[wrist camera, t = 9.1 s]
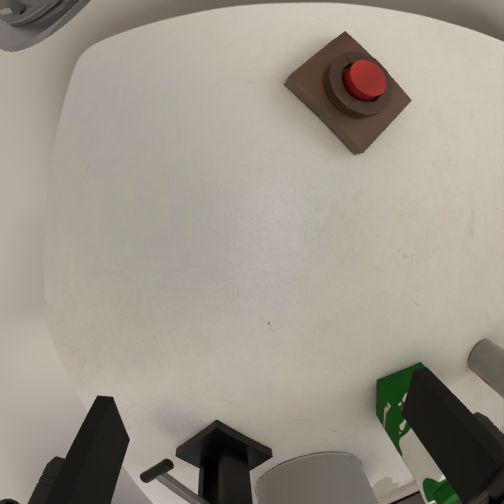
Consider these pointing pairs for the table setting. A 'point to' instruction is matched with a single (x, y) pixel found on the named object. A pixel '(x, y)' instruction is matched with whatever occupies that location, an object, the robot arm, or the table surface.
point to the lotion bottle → (488, 364)
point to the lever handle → (170, 481)
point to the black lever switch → (224, 463)
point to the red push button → (365, 80)
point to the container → (316, 481)
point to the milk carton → (410, 438)
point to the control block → (346, 94)
